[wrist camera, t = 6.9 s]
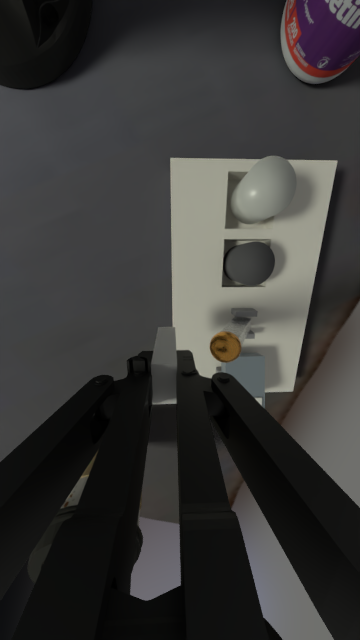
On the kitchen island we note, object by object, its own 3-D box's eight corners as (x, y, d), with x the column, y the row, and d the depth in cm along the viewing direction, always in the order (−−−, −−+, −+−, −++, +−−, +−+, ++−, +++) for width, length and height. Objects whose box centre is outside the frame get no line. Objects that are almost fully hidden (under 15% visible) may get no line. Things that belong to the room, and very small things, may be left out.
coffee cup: (136, 390, 29) (101, 518, 15) (164, 437, 32) (159, 583, 17) (78, 415, 30) (-9, 558, 16) (111, 458, 33) (63, 614, 18)
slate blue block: (221, 353, 24) (226, 357, 22) (257, 352, 24) (265, 356, 22) (221, 402, 24) (226, 411, 22) (257, 401, 24) (265, 410, 22)
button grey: (232, 176, 19) (247, 155, 15) (275, 176, 19) (300, 156, 15) (229, 224, 20) (242, 216, 16) (269, 224, 20) (292, 216, 16)
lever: (232, 310, 23) (205, 334, 16) (255, 313, 22) (238, 340, 14) (230, 331, 24) (204, 364, 16) (253, 335, 22) (236, 371, 15)
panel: (170, 171, 21) (170, 148, 17) (315, 173, 22) (352, 151, 17) (173, 381, 29) (173, 403, 24) (281, 378, 29) (300, 399, 25)
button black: (223, 244, 22) (234, 241, 19) (259, 244, 23) (277, 241, 19) (221, 281, 24) (230, 286, 20) (255, 281, 24) (272, 285, 20)
